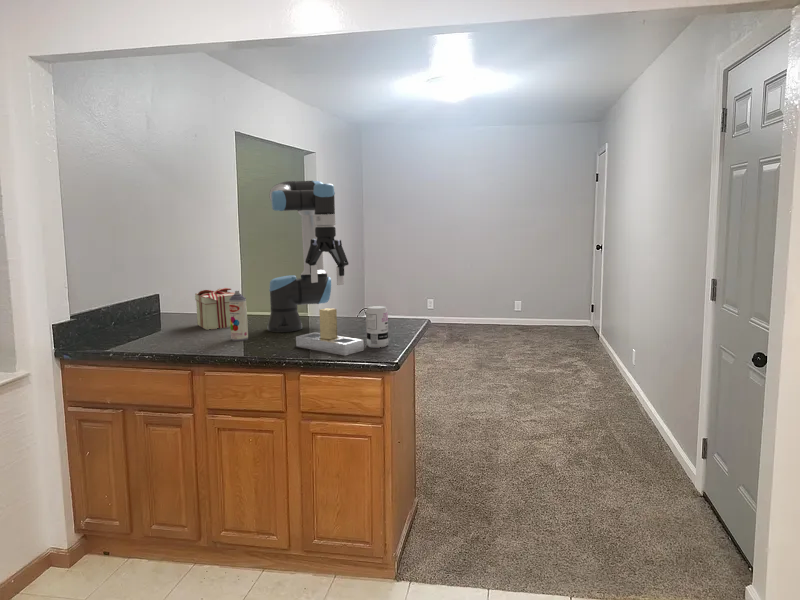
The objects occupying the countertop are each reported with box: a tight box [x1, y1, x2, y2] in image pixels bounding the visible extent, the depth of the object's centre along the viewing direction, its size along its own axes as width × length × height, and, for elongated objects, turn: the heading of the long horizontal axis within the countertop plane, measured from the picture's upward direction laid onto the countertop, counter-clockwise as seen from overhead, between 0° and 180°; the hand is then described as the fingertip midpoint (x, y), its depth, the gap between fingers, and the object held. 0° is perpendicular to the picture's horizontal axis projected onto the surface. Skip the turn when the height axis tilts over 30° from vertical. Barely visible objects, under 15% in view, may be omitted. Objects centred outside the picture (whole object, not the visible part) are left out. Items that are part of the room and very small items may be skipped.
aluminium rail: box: [295, 331, 365, 356], centre depth 238 cm, size 26×10×4 cm, turn 51°
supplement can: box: [365, 305, 389, 349], centre depth 240 cm, size 8×8×15 cm
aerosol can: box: [229, 290, 249, 342], centre depth 257 cm, size 7×7×20 cm
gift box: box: [194, 287, 235, 331], centre depth 287 cm, size 17×18×17 cm
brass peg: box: [318, 307, 338, 340], centre depth 237 cm, size 4×4×15 cm
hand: (327, 283), depth 235 cm, fingers open, 13 cm apart
